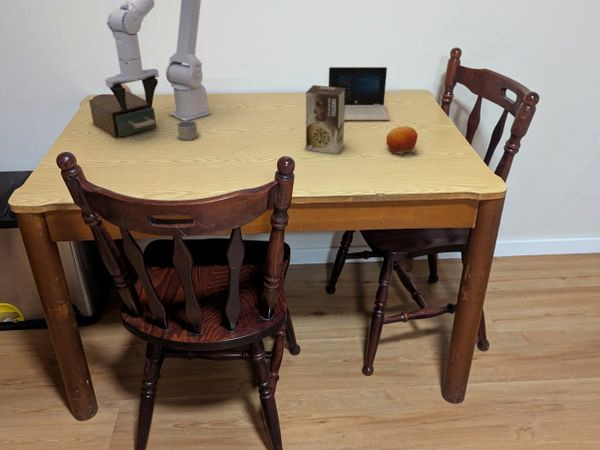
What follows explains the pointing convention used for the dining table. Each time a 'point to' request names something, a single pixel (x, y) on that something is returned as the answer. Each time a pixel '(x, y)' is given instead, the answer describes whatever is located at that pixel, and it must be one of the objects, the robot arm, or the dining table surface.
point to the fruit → (402, 139)
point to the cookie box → (325, 118)
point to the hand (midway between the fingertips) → (137, 107)
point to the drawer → (135, 121)
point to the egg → (126, 88)
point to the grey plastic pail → (187, 130)
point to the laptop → (361, 91)
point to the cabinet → (112, 110)
